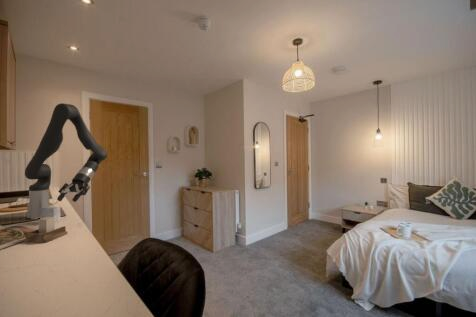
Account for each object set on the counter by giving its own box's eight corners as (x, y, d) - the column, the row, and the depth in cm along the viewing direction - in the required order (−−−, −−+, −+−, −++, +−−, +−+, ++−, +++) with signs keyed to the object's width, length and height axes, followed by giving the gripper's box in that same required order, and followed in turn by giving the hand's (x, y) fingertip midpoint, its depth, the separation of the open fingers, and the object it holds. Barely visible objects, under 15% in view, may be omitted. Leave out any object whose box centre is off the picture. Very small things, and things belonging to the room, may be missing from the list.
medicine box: (60, 221, 128) (60, 206, 128) (53, 223, 123) (53, 208, 123) (48, 220, 129) (48, 206, 128) (41, 222, 124) (41, 207, 124)
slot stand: (23, 241, 98) (23, 233, 97) (47, 233, 108) (47, 225, 108) (45, 242, 97) (45, 234, 97) (67, 233, 108) (67, 226, 107)
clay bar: (38, 236, 101) (38, 219, 101) (47, 233, 105) (46, 216, 105) (46, 236, 101) (46, 219, 100) (54, 233, 105) (54, 217, 104)
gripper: (68, 172, 122) (48, 196, 111) (91, 172, 121) (74, 197, 110) (76, 180, 128) (58, 204, 116) (98, 181, 126) (82, 205, 115)
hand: (66, 200), depth 113 cm, fingers open, 8 cm apart
